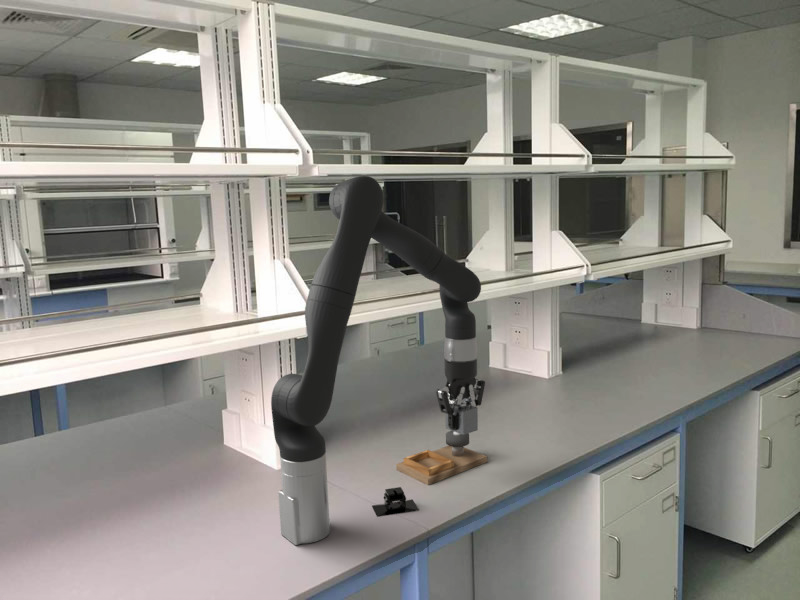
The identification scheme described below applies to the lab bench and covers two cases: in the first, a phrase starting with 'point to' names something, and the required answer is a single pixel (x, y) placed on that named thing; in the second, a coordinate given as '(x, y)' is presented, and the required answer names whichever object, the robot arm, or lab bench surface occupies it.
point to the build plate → (394, 503)
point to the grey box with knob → (465, 419)
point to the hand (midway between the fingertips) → (461, 426)
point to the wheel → (456, 439)
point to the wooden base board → (440, 463)
